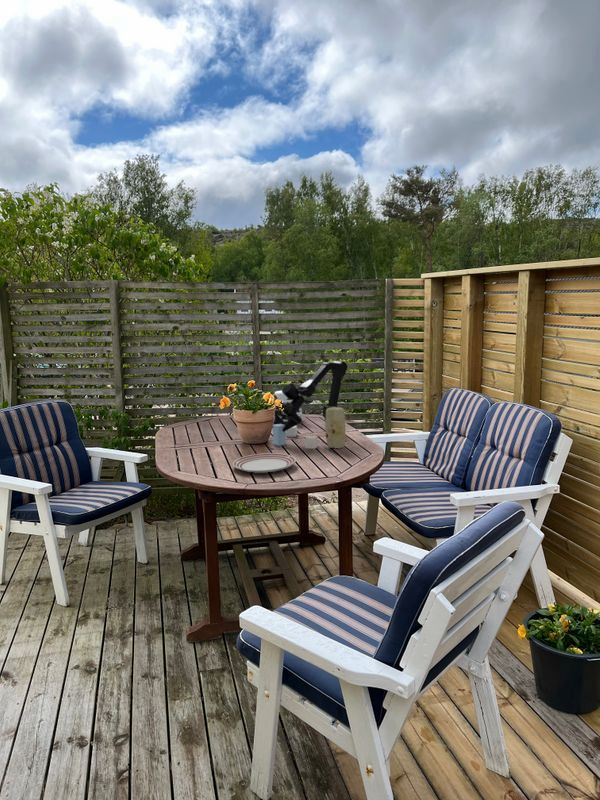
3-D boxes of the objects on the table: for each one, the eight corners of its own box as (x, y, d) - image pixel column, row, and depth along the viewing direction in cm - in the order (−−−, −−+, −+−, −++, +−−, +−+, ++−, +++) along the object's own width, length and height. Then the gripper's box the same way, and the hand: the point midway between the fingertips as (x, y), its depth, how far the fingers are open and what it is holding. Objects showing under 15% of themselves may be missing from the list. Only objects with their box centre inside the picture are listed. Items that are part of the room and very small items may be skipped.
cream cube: (317, 446, 291) (317, 436, 290) (315, 448, 286) (315, 438, 285) (307, 445, 292) (307, 436, 291) (305, 448, 287) (305, 438, 286)
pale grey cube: (297, 434, 317) (297, 425, 316) (295, 436, 312) (295, 427, 311) (288, 434, 318) (287, 425, 317) (286, 436, 313) (285, 427, 312)
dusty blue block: (280, 442, 299) (280, 423, 298) (285, 444, 296) (285, 424, 294) (273, 444, 297) (272, 424, 295) (278, 445, 293) (277, 426, 291)
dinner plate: (239, 479, 238) (238, 472, 238) (228, 463, 264) (227, 455, 264) (303, 473, 246) (303, 465, 245) (286, 457, 272) (286, 450, 271)
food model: (344, 445, 290) (343, 405, 287) (346, 448, 284) (346, 408, 281) (324, 446, 289) (324, 406, 286) (327, 449, 283) (326, 408, 279)
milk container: (304, 423, 345) (303, 393, 342) (275, 425, 343) (274, 394, 340) (300, 418, 362) (299, 389, 359) (272, 419, 360) (271, 390, 357)
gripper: (275, 393, 302) (257, 417, 298) (296, 397, 287) (278, 422, 283) (288, 406, 308) (271, 430, 303) (309, 411, 293) (292, 436, 288)
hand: (277, 429), depth 294 cm, fingers open, 9 cm apart
